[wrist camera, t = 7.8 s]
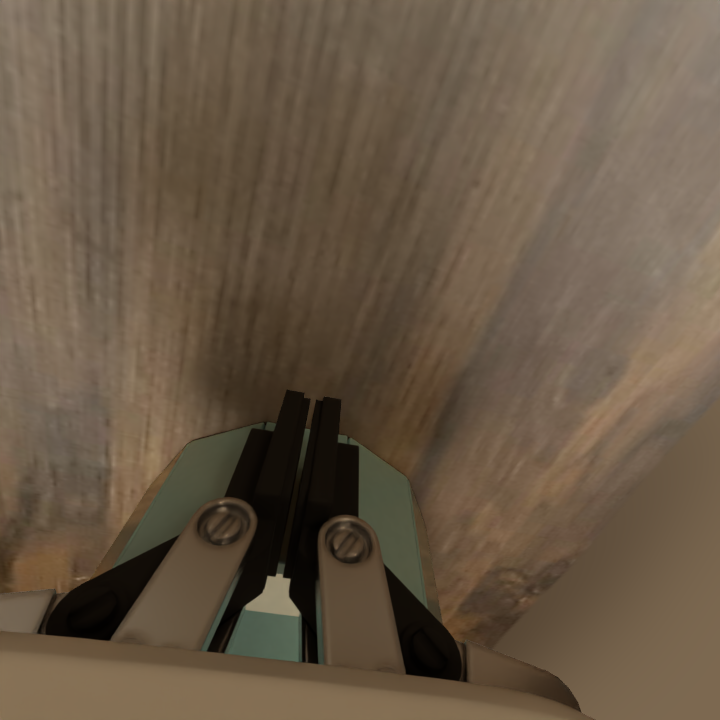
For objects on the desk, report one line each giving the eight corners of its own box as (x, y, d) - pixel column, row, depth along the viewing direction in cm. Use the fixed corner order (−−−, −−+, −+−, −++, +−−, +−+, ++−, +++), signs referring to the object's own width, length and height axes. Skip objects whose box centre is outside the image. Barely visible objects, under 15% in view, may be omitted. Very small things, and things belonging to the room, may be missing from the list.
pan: (144, 400, 14) (30, 528, 9) (458, 454, 15) (503, 594, 10) (159, 675, 23) (106, 811, 19) (353, 696, 25) (351, 829, 20)
